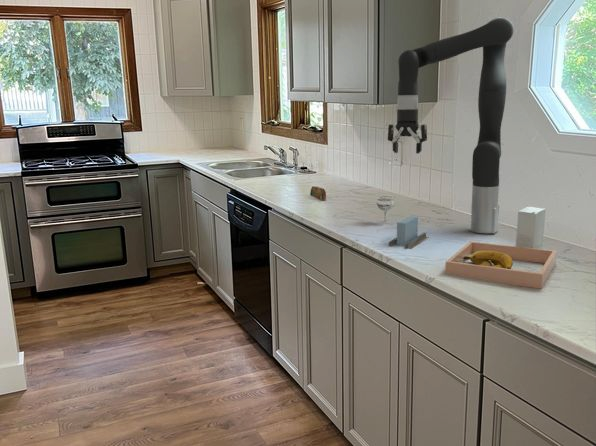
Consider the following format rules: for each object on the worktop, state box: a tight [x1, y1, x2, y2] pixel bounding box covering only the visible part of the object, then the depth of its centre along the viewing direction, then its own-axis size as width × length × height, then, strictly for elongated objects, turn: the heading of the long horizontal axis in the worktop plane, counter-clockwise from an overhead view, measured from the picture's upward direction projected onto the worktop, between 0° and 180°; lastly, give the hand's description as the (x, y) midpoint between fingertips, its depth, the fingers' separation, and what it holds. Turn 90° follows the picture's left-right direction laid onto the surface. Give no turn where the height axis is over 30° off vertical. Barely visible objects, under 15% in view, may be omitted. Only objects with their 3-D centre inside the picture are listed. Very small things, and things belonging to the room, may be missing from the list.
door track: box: [388, 232, 429, 250], centre depth 199 cm, size 9×18×2 cm, turn 149°
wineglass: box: [376, 195, 395, 225], centre depth 224 cm, size 7×7×12 cm
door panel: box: [396, 215, 419, 247], centre depth 198 cm, size 3×12×8 cm, turn 148°
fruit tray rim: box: [444, 241, 558, 289], centre depth 169 cm, size 26×26×4 cm
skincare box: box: [515, 206, 546, 249], centre depth 182 cm, size 8×6×15 cm
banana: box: [462, 251, 514, 269], centre depth 167 cm, size 15×19×6 cm
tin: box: [309, 186, 327, 202], centre depth 277 cm, size 15×3×8 cm, turn 19°
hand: (406, 153), depth 210 cm, fingers open, 8 cm apart
